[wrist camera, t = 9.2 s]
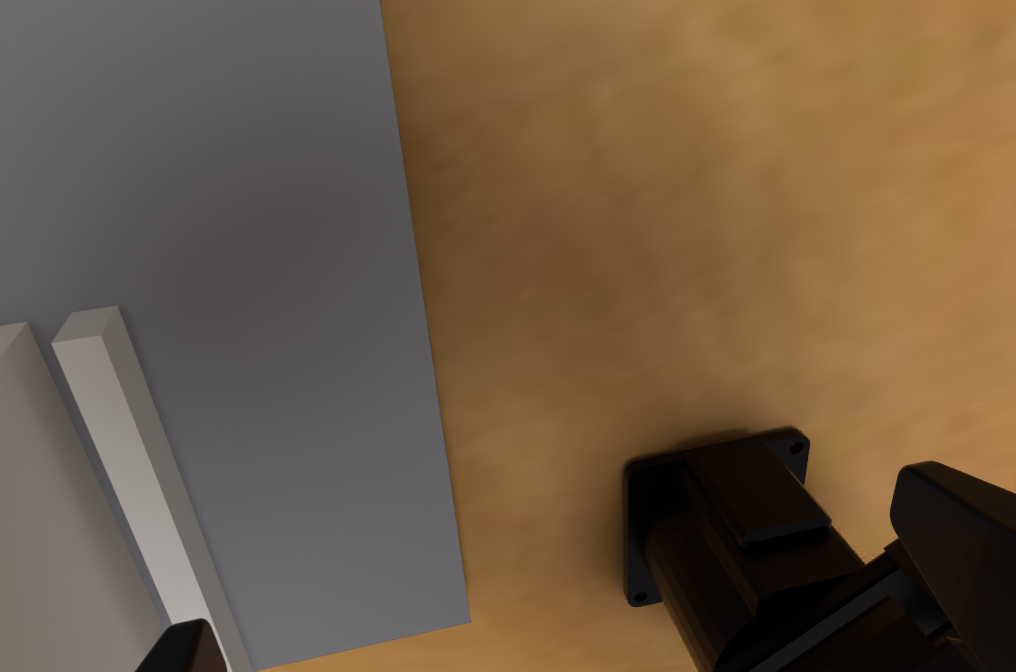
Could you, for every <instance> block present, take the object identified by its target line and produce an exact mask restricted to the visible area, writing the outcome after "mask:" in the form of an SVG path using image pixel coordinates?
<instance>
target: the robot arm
mask: <svg viewBox="0 0 1016 672" xmlns="http://www.w3.org/2000/svg"><path fill="white" fill-rule="evenodd" d="M794 443H795V444H794ZM793 444H794V445H793ZM791 445H793V446H791ZM809 449H810V441H809V439H808V438H807V437H806V436H805V435H804V434H803V433H802V432H801V431H800V430H798V429H791V430H786V431H781V432H776V433H771V434H766V435H761V436H756V437H751V438H746V439H741V440H736V441H731V442H726V443H721V444H716V445H711V446H706V447H701V448H696V449H691V450H686V451H681V452H676V453H671V454H667V455H662V456H657V457H652V458H647V459H642V460H637V461H635V462H632V463H631V464H630V465H628V466H627V468H626V469H625V471H624V594H625V597H626V599H627V601H628V604H630V605H631V606H633V607H642V606H646V605H650V604H655V603H659V602H664V604H665V606H666V608H667V610H668V612H669V614H670V616H671V618H672V620H673V622H674V624H675V626H676V628H677V630H678V632H679V634H680V636H681V638H682V640H683V642H684V644H685V646H686V648H687V650H688V652H689V654H690V656H691V658H692V660H693V662H694V664H695V666H696V668H697V670H698V672H1016V494H1015V493H1013V492H1010V491H1008V490H1005V489H1003V488H1000V487H998V486H996V485H993V484H991V483H988V482H986V481H983V480H981V479H978V478H976V477H973V476H971V475H968V474H966V473H963V472H961V471H958V470H956V469H953V468H951V467H948V466H946V465H943V464H941V463H938V462H935V461H925V462H920V463H915V464H911V465H906V466H904V467H903V468H902V469H901V470H900V471H899V473H898V477H897V481H896V486H895V490H894V495H893V499H892V503H891V508H890V519H891V523H892V526H893V528H894V530H895V532H896V534H897V536H898V537H899V538H897V539H896V540H895V541H893V542H892V543H890V544H889V545H887V546H886V547H884V548H883V549H884V550H885V552H883V553H882V554H881V555H879V556H878V557H876V558H875V559H873V560H872V561H870V562H869V563H867V564H865V563H864V562H863V560H862V559H861V558H860V557H859V556H858V554H857V553H856V552H855V551H854V550H853V549H852V547H851V546H850V545H849V544H848V543H847V542H846V540H845V539H844V538H843V537H842V536H841V535H840V533H839V532H838V531H837V530H836V529H835V528H834V526H833V525H832V524H831V522H832V520H831V518H830V516H829V515H828V514H827V512H826V511H825V510H824V509H823V508H822V507H821V505H820V504H819V503H818V502H817V501H816V500H815V498H814V497H813V496H812V495H811V494H810V493H809V491H808V490H807V489H806V488H805V487H804V482H805V475H806V469H807V462H808V455H809ZM642 473H643V474H644V475H643V476H642V477H640V478H636V477H637V476H638V475H640V474H642ZM134 672H228V671H227V666H226V662H225V659H224V657H223V654H222V652H221V649H220V647H219V644H218V642H217V639H216V637H215V634H214V632H213V629H212V627H211V625H210V623H209V622H208V621H207V620H206V619H203V618H199V619H194V620H190V621H185V622H181V623H176V624H173V625H171V626H169V627H168V628H167V629H166V630H165V631H164V632H163V634H162V635H161V636H160V638H159V639H158V640H157V642H156V643H155V644H154V646H153V647H152V649H151V650H150V651H149V653H148V654H147V655H146V657H145V658H144V659H143V661H142V662H141V663H140V665H139V666H138V667H137V669H136V670H135V671H134Z"/></svg>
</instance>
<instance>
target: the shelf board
mask: <svg viewBox="0 0 1016 672" xmlns="http://www.w3.org/2000/svg"><path fill="white" fill-rule="evenodd" d="M22 322H28V324H29V327H30V329H31V331H32V333H33V336H34V338H35V340H36V342H37V344H38V347H39V349H40V351H41V353H42V356H43V358H44V360H45V362H46V365H47V367H48V369H49V371H50V374H51V376H52V378H53V380H54V383H55V385H56V387H57V389H58V391H59V394H60V396H61V398H62V400H63V403H64V405H65V407H66V409H67V412H68V414H69V416H70V418H71V421H72V423H73V425H74V427H75V430H76V432H77V434H78V436H79V438H80V441H81V443H82V445H83V447H84V450H85V452H86V454H87V456H88V459H89V461H90V463H91V465H92V468H93V470H94V472H95V474H96V477H97V479H98V481H99V483H100V485H101V488H102V490H103V492H104V494H105V497H106V499H107V501H108V503H109V506H110V508H111V510H112V512H113V515H114V517H115V519H116V521H117V524H118V526H119V528H120V530H121V532H122V535H123V537H124V539H125V541H126V544H127V546H128V548H129V550H130V553H131V555H132V557H133V559H134V562H135V564H136V566H137V568H138V570H139V573H140V575H141V577H142V579H143V582H144V584H145V586H146V588H147V591H148V593H149V595H150V597H151V600H152V602H153V604H154V606H155V609H156V611H157V613H158V615H159V617H160V620H161V625H160V629H159V633H158V637H157V640H158V639H159V638H160V636H161V635H162V634H163V632H164V631H165V630H166V629H167V628H168V627H169V626H171V625H173V624H176V623H181V622H185V621H190V620H194V619H199V618H203V619H206V620H207V621H208V622H209V623H210V625H211V627H212V629H213V632H214V634H215V637H216V639H217V642H218V644H219V647H220V649H221V652H222V654H223V657H224V659H225V662H226V666H227V671H228V672H254V671H258V670H263V669H267V668H271V667H276V666H280V665H285V664H289V663H294V662H298V661H302V660H307V659H311V658H316V657H320V656H324V655H329V654H333V653H338V652H342V651H346V650H351V649H355V648H360V647H364V646H368V645H373V644H377V643H382V642H386V641H390V640H395V639H399V638H404V637H408V636H413V635H417V634H421V633H426V632H430V631H435V630H439V629H443V628H448V627H452V626H457V625H461V624H465V623H470V622H471V619H470V612H469V605H468V598H467V591H466V585H465V578H464V571H463V564H462V557H461V551H460V544H459V537H458V530H457V523H456V516H455V510H454V503H453V496H452V489H451V482H450V476H449V469H448V462H447V455H446V448H445V442H444V435H443V428H442V421H441V414H440V408H439V401H438V394H437V387H436V380H435V374H434V367H433V360H432V353H431V346H430V339H429V333H428V326H427V319H426V312H425V305H424V299H423V292H422V285H421V278H420V271H419V265H418V258H417V251H416V244H415V237H414V231H413V224H412V217H411V210H410V203H409V196H408V190H407V183H406V176H405V169H404V162H403V156H402V149H401V142H400V135H399V128H398V122H397V115H396V108H395V101H394V94H393V88H392V81H391V74H390V67H389V60H388V53H387V47H386V40H385V33H384V26H383V19H382V13H381V6H380V0H0V326H3V325H9V324H15V323H22ZM156 642H157V641H156Z"/></svg>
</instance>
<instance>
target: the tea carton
mask: <svg viewBox="0 0 1016 672" xmlns="http://www.w3.org/2000/svg"><path fill="white" fill-rule="evenodd" d="M160 625H161V620H160V617H159V615H158V613H157V611H156V609H155V606H154V604H153V602H152V600H151V597H150V595H149V593H148V591H147V588H146V586H145V584H144V582H143V579H142V577H141V575H140V573H139V570H138V568H137V566H136V564H135V562H134V559H133V557H132V555H131V553H130V550H129V548H128V546H127V544H126V541H125V539H124V537H123V535H122V532H121V530H120V528H119V526H118V524H117V521H116V519H115V517H114V515H113V512H112V510H111V508H110V506H109V503H108V501H107V499H106V497H105V494H104V492H103V490H102V488H101V485H100V483H99V481H98V479H97V477H96V474H95V472H94V470H93V468H92V465H91V463H90V461H89V459H88V456H87V454H86V452H85V450H84V447H83V445H82V443H81V441H80V438H79V436H78V434H77V432H76V430H75V427H74V425H73V423H72V421H71V418H70V416H69V414H68V412H67V409H66V407H65V405H64V403H63V400H62V398H61V396H60V394H59V391H58V389H57V387H56V385H55V383H54V380H53V378H52V376H51V374H50V371H49V369H48V367H47V365H46V362H45V360H44V358H43V356H42V353H41V351H40V349H39V347H38V344H37V342H36V340H35V338H34V336H33V333H32V331H31V329H30V327H29V324H28V322H22V323H15V324H9V325H3V326H0V672H134V671H135V670H136V669H137V667H138V666H139V665H140V663H141V662H142V661H143V659H144V658H145V657H146V655H147V654H148V653H149V651H150V650H151V649H152V647H153V646H154V644H155V643H156V641H157V637H158V633H159V629H160Z"/></svg>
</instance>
